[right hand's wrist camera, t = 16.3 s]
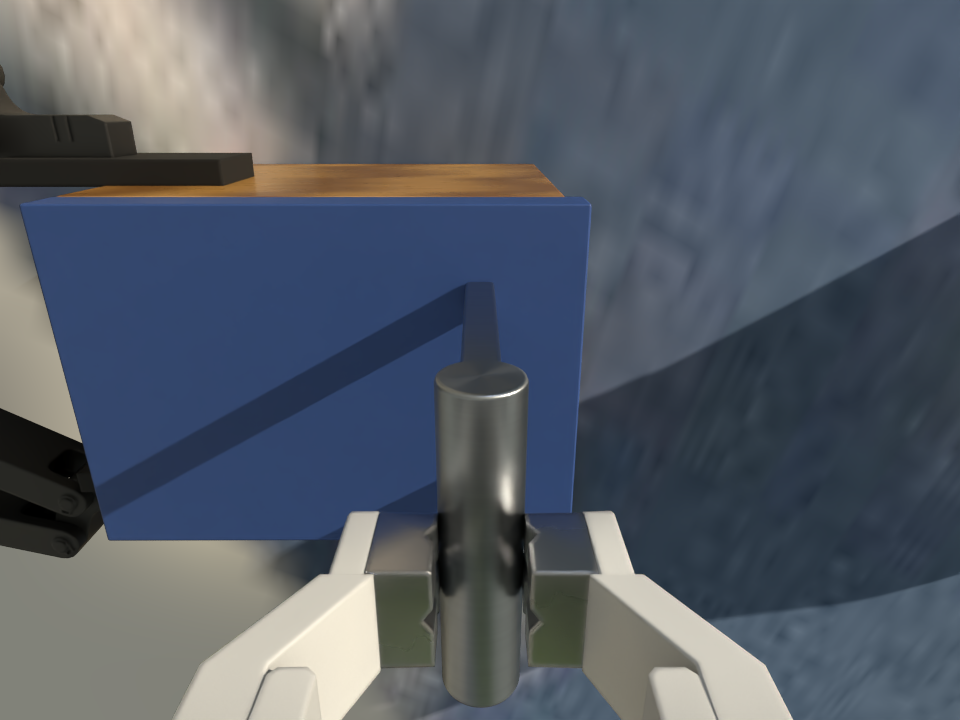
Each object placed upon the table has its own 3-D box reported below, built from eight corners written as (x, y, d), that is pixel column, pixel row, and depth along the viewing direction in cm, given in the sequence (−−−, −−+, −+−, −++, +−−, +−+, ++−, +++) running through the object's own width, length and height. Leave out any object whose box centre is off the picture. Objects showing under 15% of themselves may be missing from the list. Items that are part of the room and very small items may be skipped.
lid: (583, 196, 16) (681, 278, 8) (564, 513, 20) (620, 774, 12) (52, 196, 16) (-340, 278, 8) (130, 514, 20) (-93, 776, 12)
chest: (534, 164, 25) (566, 196, 16) (527, 384, 29) (550, 513, 20) (207, 164, 25) (53, 196, 16) (241, 384, 29) (130, 513, 20)
